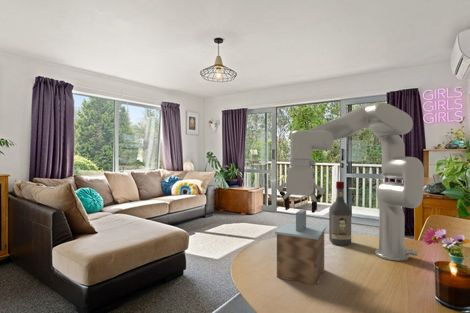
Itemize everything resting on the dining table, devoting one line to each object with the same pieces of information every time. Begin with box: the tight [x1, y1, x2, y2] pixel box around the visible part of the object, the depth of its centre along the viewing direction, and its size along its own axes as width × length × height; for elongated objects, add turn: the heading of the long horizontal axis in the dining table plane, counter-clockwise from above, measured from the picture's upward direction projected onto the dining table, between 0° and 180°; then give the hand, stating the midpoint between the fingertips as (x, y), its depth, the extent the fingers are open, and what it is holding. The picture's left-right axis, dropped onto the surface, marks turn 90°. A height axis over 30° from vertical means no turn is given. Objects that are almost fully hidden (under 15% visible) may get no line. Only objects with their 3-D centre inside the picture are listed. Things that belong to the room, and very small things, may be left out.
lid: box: [274, 209, 327, 240], centre depth 104 cm, size 15×15×9 cm
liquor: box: [328, 181, 352, 247], centre depth 140 cm, size 9×9×30 cm
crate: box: [276, 231, 325, 286], centre depth 105 cm, size 14×14×16 cm
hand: (300, 210), depth 104 cm, fingers open, 9 cm apart
